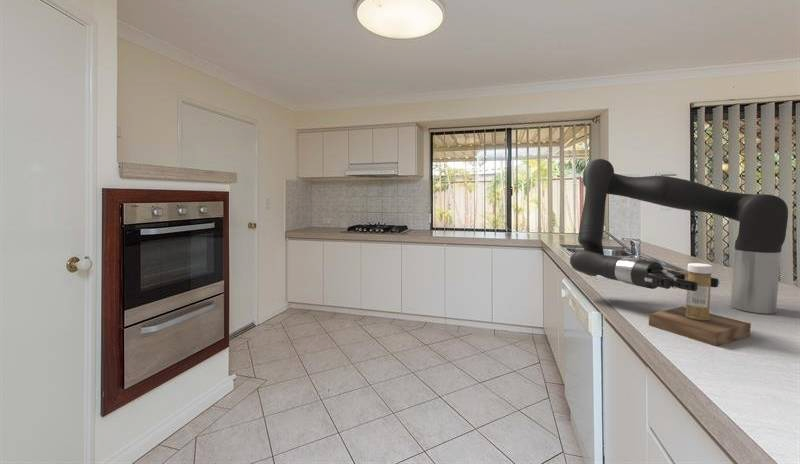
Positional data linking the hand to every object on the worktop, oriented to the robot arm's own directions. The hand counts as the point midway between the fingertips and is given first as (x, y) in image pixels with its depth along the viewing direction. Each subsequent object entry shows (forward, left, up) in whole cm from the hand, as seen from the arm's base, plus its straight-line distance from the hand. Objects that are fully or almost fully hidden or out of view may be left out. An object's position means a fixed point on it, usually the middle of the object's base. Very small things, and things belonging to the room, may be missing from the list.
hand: (707, 285), depth 82 cm
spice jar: (0, -2, -9) cm, 9 cm away
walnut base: (0, -2, -12) cm, 12 cm away
